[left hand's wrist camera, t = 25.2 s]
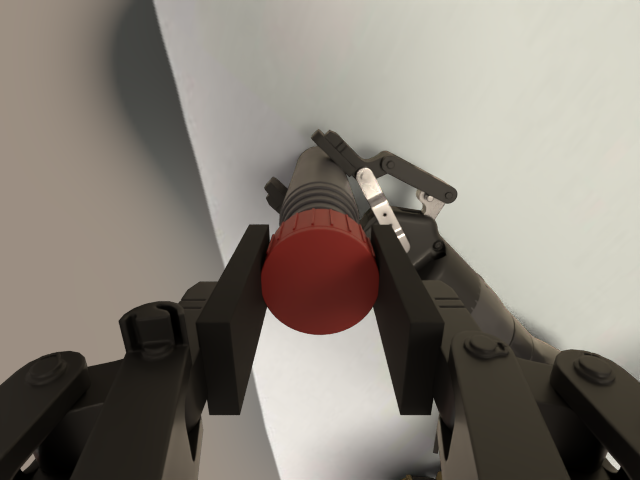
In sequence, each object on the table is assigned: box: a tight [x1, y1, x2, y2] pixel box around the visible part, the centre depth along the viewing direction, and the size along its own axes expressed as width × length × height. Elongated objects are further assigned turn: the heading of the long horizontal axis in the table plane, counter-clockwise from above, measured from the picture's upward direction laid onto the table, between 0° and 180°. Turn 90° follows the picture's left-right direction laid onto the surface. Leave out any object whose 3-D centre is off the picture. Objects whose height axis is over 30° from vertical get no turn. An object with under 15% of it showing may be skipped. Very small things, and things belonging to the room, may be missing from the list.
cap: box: [261, 208, 379, 335], centre depth 13 cm, size 4×4×2 cm
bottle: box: [279, 146, 359, 226], centre depth 23 cm, size 4×4×20 cm
